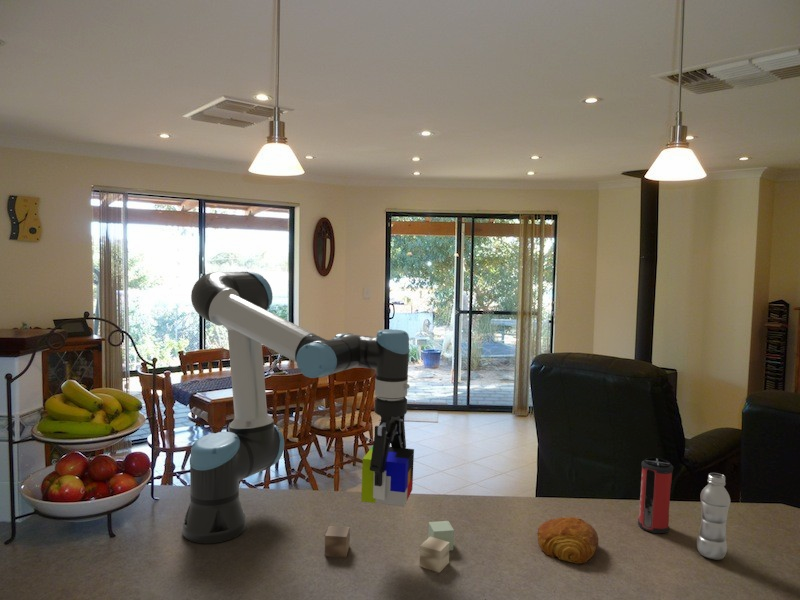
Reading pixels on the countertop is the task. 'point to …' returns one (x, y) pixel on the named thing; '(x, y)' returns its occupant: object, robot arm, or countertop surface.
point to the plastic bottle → (713, 518)
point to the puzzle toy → (390, 477)
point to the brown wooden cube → (337, 541)
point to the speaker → (655, 495)
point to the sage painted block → (442, 532)
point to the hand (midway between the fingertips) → (387, 489)
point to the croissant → (568, 539)
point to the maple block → (434, 554)
